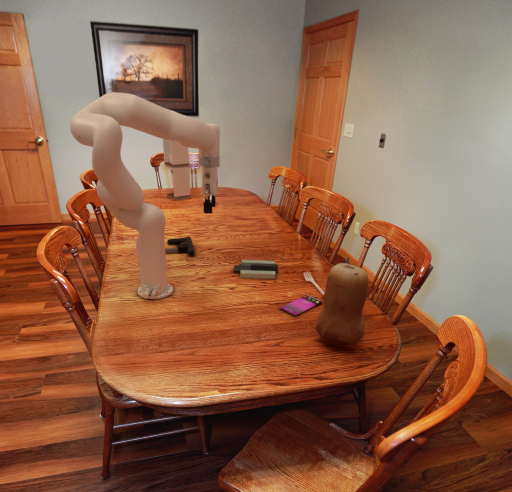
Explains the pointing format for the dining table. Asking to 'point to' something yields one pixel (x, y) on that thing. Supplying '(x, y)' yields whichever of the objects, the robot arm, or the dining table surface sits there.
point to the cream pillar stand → (177, 168)
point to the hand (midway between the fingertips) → (209, 209)
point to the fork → (312, 281)
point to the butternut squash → (343, 306)
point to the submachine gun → (181, 246)
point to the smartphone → (301, 305)
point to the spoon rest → (257, 273)
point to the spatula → (256, 267)
